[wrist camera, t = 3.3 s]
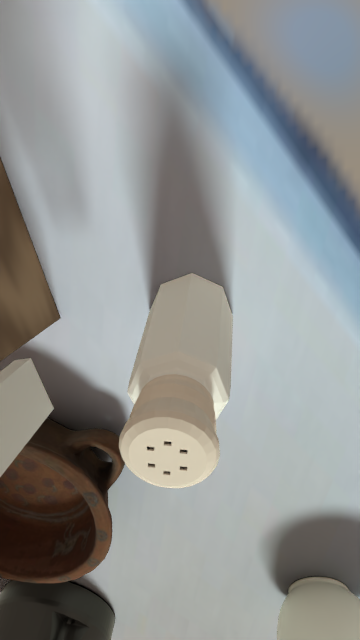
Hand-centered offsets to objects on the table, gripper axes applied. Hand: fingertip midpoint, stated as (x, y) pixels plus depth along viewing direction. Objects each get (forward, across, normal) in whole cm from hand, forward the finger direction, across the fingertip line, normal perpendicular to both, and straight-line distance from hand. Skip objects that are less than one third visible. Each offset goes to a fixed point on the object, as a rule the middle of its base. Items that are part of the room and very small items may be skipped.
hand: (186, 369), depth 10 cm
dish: (+7, +17, +13) cm, 23 cm away
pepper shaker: (+7, 0, 0) cm, 7 cm away
